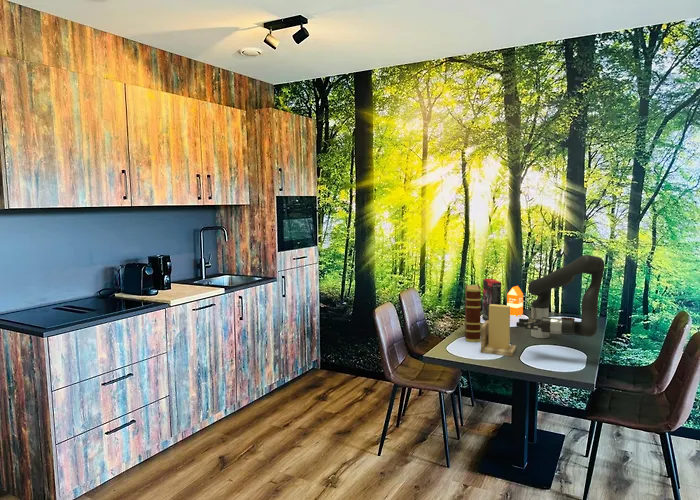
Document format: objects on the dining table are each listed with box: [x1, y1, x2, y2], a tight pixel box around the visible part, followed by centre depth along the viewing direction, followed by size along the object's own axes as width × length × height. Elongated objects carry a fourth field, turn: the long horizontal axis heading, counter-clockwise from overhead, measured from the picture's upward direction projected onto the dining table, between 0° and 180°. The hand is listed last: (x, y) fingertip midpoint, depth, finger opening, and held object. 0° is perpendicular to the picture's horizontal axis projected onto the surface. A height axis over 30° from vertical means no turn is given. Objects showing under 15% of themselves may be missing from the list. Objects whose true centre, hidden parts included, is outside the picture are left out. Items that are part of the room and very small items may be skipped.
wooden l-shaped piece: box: [480, 320, 517, 357], centre depth 251 cm, size 16×14×14 cm
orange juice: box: [506, 285, 524, 317], centre depth 334 cm, size 8×9×20 cm
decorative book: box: [464, 283, 482, 343], centre depth 278 cm, size 22×8×30 cm, turn 168°
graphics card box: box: [481, 278, 502, 321], centre depth 315 cm, size 17×7×27 cm, turn 5°
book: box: [489, 304, 511, 349], centre depth 250 cm, size 4×10×22 cm, turn 63°
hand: (517, 322), depth 246 cm, fingers open, 8 cm apart
